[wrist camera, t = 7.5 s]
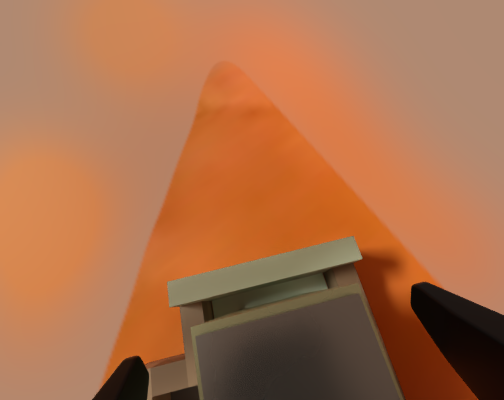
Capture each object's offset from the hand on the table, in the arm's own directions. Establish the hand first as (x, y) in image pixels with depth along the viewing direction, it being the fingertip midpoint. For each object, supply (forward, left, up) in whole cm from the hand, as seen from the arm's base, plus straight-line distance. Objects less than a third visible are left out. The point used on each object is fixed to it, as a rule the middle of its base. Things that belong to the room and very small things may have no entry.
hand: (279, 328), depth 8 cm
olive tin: (-1, 0, -8) cm, 8 cm away
